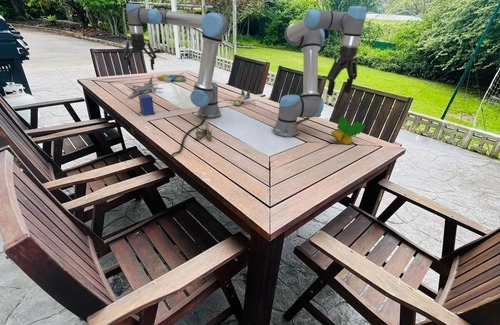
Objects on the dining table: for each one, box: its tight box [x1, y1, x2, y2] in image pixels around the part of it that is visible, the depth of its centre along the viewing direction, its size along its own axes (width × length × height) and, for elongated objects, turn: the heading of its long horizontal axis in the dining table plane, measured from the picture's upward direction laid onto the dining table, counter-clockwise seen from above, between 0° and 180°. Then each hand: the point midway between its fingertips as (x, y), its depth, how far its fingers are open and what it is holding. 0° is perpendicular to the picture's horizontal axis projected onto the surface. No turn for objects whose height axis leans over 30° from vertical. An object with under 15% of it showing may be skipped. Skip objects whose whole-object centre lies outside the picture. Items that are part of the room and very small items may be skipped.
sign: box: [156, 74, 187, 83], centre depth 278 cm, size 26×2×30 cm
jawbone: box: [195, 119, 213, 141], centre depth 151 cm, size 9×15×10 cm
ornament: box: [330, 114, 367, 145], centre depth 158 cm, size 21×8×15 cm, turn 105°
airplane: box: [127, 75, 164, 99], centre depth 224 cm, size 38×31×10 cm
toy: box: [223, 89, 257, 106], centre depth 219 cm, size 28×7×30 cm
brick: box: [138, 94, 155, 116], centre depth 179 cm, size 7×7×12 cm
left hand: (141, 70), depth 168 cm, fingers open, 13 cm apart
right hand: (338, 93), depth 127 cm, fingers open, 13 cm apart
